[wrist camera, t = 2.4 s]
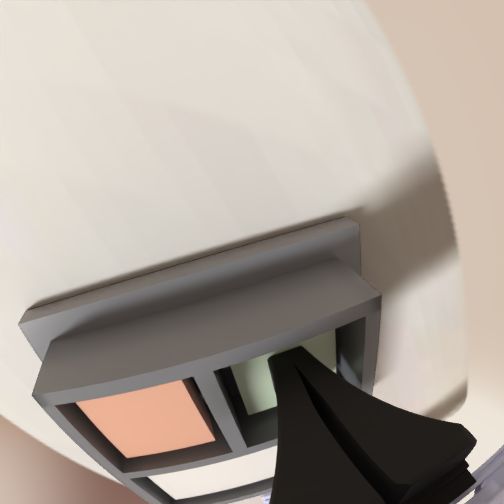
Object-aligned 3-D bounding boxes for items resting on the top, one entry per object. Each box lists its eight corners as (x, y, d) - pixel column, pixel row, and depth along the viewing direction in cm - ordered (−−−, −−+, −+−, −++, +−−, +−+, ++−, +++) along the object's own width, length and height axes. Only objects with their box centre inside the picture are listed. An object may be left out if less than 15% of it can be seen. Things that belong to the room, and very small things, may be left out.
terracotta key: (209, 413, 12) (215, 440, 11) (126, 431, 11) (126, 457, 10) (177, 350, 10) (181, 379, 9) (81, 373, 10) (75, 402, 8)
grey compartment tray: (347, 412, 18) (375, 454, 15) (151, 471, 16) (157, 520, 13) (346, 216, 12) (409, 253, 9) (25, 311, 10) (-8, 375, 7)
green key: (322, 361, 14) (336, 382, 12) (240, 390, 13) (248, 415, 12) (316, 292, 12) (334, 312, 11) (216, 324, 11) (225, 350, 10)
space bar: (330, 431, 15) (341, 450, 14) (172, 478, 14) (175, 499, 13) (329, 392, 14) (343, 414, 12) (141, 448, 12) (143, 473, 11)
